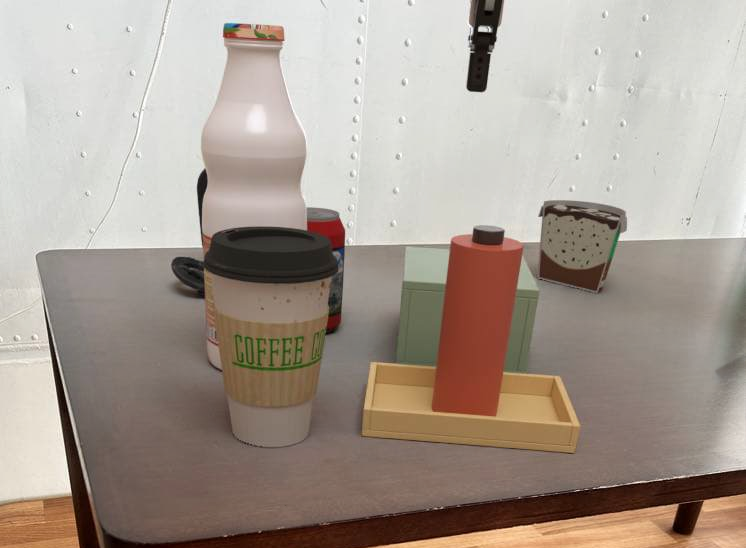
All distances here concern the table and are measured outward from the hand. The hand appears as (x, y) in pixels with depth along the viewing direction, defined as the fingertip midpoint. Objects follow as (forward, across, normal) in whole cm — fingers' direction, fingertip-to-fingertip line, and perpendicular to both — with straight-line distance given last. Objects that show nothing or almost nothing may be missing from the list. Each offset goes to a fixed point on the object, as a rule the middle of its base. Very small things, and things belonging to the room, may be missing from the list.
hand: (475, 91), depth 91 cm
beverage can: (+23, -16, +16) cm, 32 cm away
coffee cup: (+23, -44, +16) cm, 52 cm away
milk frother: (+23, -1, +27) cm, 36 cm away
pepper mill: (+22, -38, 0) cm, 44 cm away
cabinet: (+23, -20, 0) cm, 30 cm away
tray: (+23, -38, 0) cm, 44 cm away
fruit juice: (+23, -28, +20) cm, 41 cm away
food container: (+23, +13, -18) cm, 32 cm away
